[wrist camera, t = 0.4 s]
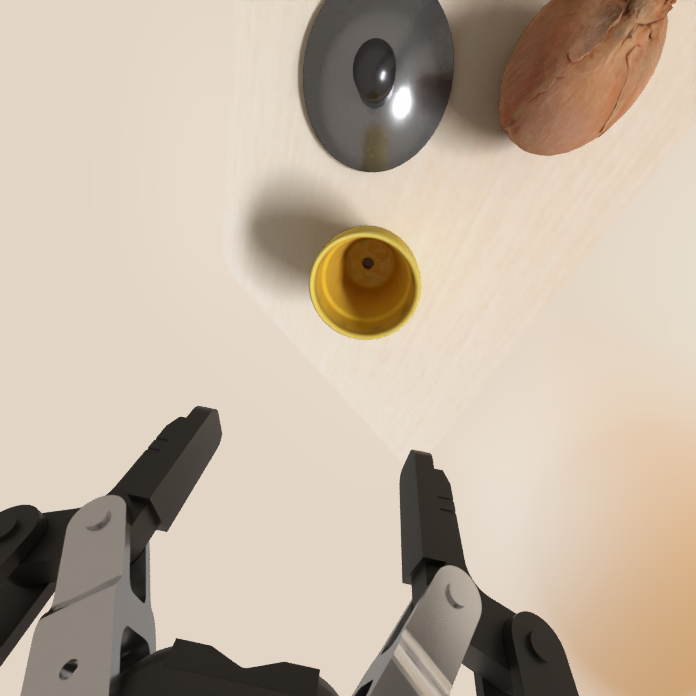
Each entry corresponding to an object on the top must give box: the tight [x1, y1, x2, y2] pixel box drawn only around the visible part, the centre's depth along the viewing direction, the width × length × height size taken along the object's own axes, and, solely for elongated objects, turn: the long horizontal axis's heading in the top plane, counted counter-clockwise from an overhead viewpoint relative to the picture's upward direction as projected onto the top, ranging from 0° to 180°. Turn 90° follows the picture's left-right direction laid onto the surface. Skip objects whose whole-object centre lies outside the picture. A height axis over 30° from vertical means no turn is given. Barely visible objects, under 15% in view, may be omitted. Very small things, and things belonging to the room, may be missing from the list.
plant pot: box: [309, 226, 421, 340], centre depth 29 cm, size 10×10×10 cm
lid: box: [303, 0, 454, 172], centre depth 23 cm, size 13×13×6 cm
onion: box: [498, 0, 676, 156], centre depth 20 cm, size 10×9×10 cm
